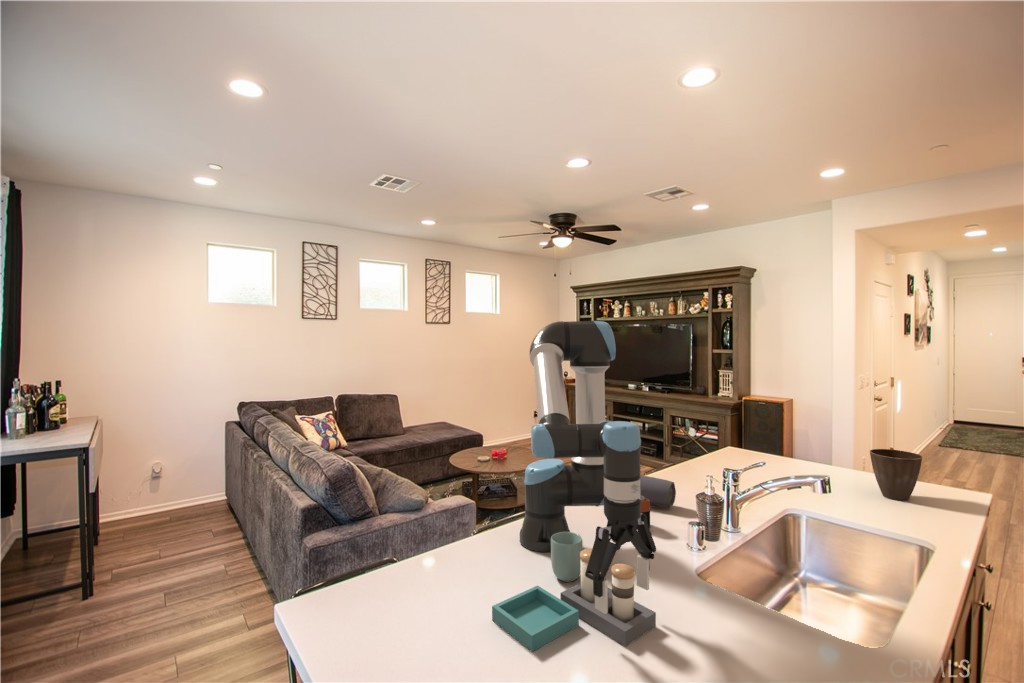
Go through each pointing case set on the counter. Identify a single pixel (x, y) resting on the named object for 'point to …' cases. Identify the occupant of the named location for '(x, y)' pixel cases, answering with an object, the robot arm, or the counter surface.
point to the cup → (566, 555)
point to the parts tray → (535, 617)
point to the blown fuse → (623, 592)
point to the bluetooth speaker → (657, 490)
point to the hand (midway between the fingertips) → (622, 598)
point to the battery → (645, 508)
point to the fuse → (586, 582)
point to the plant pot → (896, 472)
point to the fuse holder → (611, 617)
